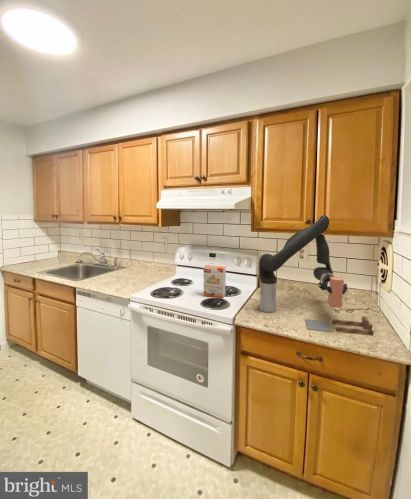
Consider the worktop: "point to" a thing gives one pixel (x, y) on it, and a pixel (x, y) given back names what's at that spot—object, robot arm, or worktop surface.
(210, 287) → the cracker box
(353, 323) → the frame
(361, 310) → the worktop surface
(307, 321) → the mat
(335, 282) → the red block
